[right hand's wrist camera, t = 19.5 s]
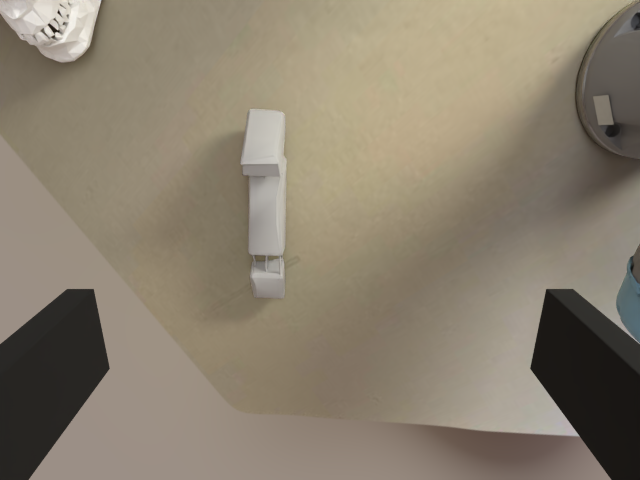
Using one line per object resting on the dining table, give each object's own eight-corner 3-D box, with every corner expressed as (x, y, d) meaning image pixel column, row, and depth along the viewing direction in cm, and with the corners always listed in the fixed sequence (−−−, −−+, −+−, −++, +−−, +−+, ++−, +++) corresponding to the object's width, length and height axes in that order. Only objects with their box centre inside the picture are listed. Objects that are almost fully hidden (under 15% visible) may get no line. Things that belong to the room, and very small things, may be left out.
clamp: (248, 106, 42) (235, 119, 36) (287, 107, 42) (280, 120, 36) (256, 281, 51) (246, 315, 45) (287, 282, 51) (282, 316, 45)
